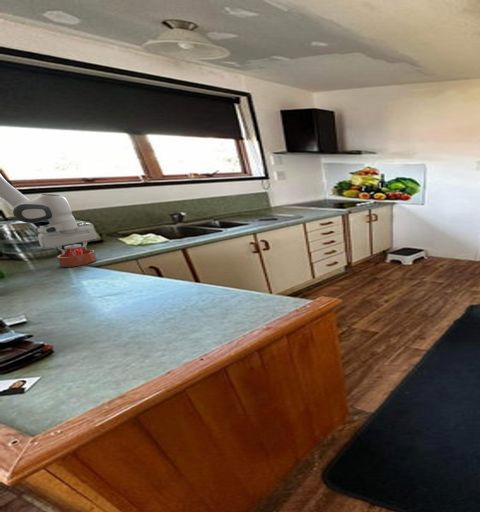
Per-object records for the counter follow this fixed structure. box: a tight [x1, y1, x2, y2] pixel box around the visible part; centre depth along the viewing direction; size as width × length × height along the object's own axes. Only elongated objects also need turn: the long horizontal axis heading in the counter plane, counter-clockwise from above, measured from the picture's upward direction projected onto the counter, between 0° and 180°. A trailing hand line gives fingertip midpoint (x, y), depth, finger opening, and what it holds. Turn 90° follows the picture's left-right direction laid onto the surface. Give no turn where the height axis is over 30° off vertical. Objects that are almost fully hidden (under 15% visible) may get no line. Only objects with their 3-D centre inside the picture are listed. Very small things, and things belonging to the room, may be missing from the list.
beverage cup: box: [63, 243, 83, 257], centre depth 143 cm, size 6×6×14 cm
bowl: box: [56, 249, 98, 268], centre depth 144 cm, size 13×13×6 cm
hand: (74, 251), depth 143 cm, fingers closed on beverage cup, 6 cm apart
